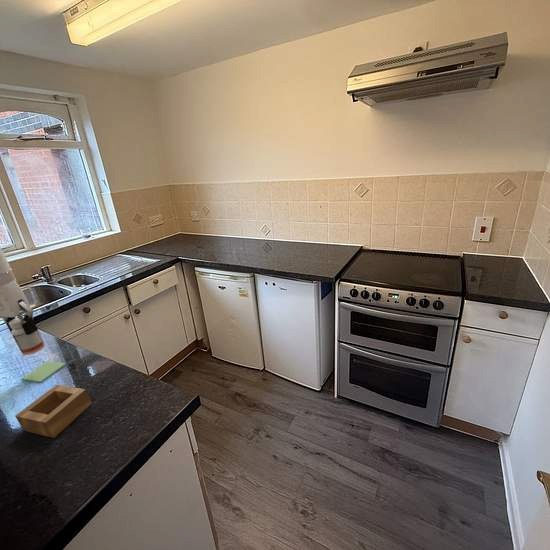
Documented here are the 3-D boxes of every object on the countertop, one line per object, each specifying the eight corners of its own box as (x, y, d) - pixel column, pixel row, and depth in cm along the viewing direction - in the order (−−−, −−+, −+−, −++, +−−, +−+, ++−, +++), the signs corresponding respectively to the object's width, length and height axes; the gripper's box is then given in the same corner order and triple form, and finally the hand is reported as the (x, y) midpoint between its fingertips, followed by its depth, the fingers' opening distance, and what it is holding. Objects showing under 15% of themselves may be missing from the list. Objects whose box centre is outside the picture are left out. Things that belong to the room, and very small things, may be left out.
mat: (21, 379, 97) (21, 378, 96) (48, 362, 105) (47, 360, 104) (40, 382, 94) (40, 381, 94) (66, 364, 102) (66, 363, 101)
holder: (23, 430, 76) (14, 415, 74) (63, 398, 85) (56, 384, 84) (53, 438, 72) (45, 422, 70) (91, 403, 82) (85, 389, 80)
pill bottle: (27, 348, 98) (11, 318, 94) (48, 342, 100) (34, 312, 96) (19, 358, 93) (2, 326, 88) (41, 352, 94) (25, 321, 90)
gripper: (-36, 284, 87) (-7, 337, 93) (3, 284, 81) (31, 340, 87) (-7, 274, 93) (19, 324, 100) (31, 274, 88) (55, 326, 94)
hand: (24, 331), depth 94 cm, fingers closed on pill bottle, 6 cm apart
